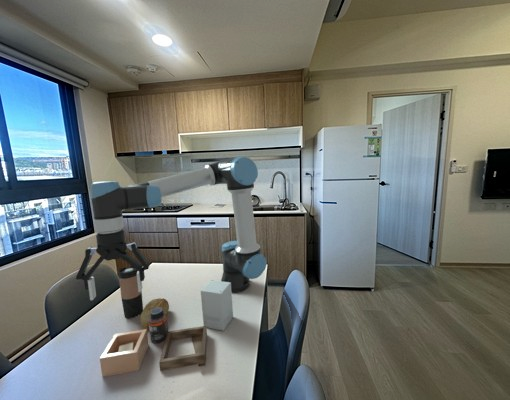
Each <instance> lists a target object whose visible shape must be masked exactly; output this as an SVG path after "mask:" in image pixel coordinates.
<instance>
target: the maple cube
mask: <svg viewBox="0 0 510 400" xmlns="http://www.w3.org/2000/svg"><path fill="white" fill-rule="evenodd" d="M129 350H134V343H133V342H131V343H128V344H125V345H122V346H119V351H118V352H123V351H129Z"/></svg>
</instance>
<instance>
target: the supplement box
mask: <svg viewBox="0 0 510 400" xmlns="http://www.w3.org/2000/svg"><path fill="white" fill-rule="evenodd" d="M232 294H233V293H232V292H231V282H222V281H221V280H213V279H212V280H211V281H209V283H207V284H206V285H205V286H203V288H202V289H200V297H201V310H202V311H201V312H202V321H203V326H206V328H207V329H208V328H209V329H214V330H218V331H225V329H226V328H227V327H228V325H229V324H230V322H231V321H232V320H233V317H234V310H233V296H232Z"/></svg>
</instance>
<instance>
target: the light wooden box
mask: <svg viewBox="0 0 510 400" xmlns="http://www.w3.org/2000/svg"><path fill="white" fill-rule="evenodd" d="M148 338H149V337H148V330H147V329H139V330H138V329H137V330H133V331H132V330H131V331H126V332H120V333H118V332H117V333H114V334H113V336H112V337H111V339H110V340H109V342H108V344H107V346H106V348H105V349H104V351H102V352H103V353H102V354H101V356H100V357H99V363H100V370H101V377H102V378H103V377H109V376H115V375H119V374H120V375H122V374H125V373H131V372H132V373H133V372H136V371H137V372H138V371H140V368H141V366H142V363H143V360H144V359H145V356H146V352H147V350H148V348H149V339H148ZM131 342H133V343H134V350H129V351H123V352H118V351H119V346H122V345H125V344H128V343H131Z"/></svg>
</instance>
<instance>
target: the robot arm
mask: <svg viewBox="0 0 510 400" xmlns="http://www.w3.org/2000/svg"><path fill="white" fill-rule="evenodd" d="M258 171H259V170H258V167H257V164H256V163H255V162H254V161H253V160H252V159H251V158H249V157H247V156H236V157H231V158H224V159H221V160H219V161H217V162H214V163H210V164H205V166H204V167H203V168H199V169H195V170H191V171H186V172H182V173H178V174H174V175H169V176H166V177H162V178H156V179H153V180H149V181H145V182H141V183H136V184H129V185H128V186H120V183H119V181H117V180H116V181H114V180H113V181H111V180H110V181H94V182H92V183H91V184H90V196H91V197H90V198H91V206H92V212H93V213H92V215H93V222H94V230H95V232H96V234H95V237H96V247H93V246H89V247H88V248H86V249H85V250H84V253H85V254H84V255H85V256H84V259H83V260H82V262H81V265H80V267H79V269H78V272H77V273H76V276H75V279H76V280H77V281H78V280H83V283H84V288H85V290H88V293H89V294H88V295H89V300H90V301H93V300H94V299H95V298H96V297H97V291H96V283H95V276H92V275H93V274H94V272H95V271H96V270H97V269H98V268H99V267H100V265H101V264H102V262H104V261H105V260H106V261H111V260H119V259H121V260H122V261H124V262H126V263H127V264H128V265H130V267H131V266H132V267H134V268H135V269H136V270H138V271H137V283H138V292H141V290H143V281H144V280H145V277H146V275H145V271H146V270H149V268H150V266H151V265H150V264H151V263H150V262H149V261H148V260H147V259H146V257H145V256H144V255H143V253H142V252H141V251H140V249H139V248H138V247H139V246H138V243H137V242H136V241H133V242H132V243H126V242H127V241H126V236H125V235H126V234H125V230H124V229H123V228H124V217H123V211H128V210H138V209H140V210H141V209H147V208H148V209H149V208H150V209H152V208H155V207H159V206H161V204H162V198H165V197H168V196H172V195H175V194H179V193H183V192H186V191H189V190H194V189H197V188H201V187H204V186H208V185H209V186H215V185H216V186H217V185H224V184H225V185H226V188H227V191H228V192H229V193H230V194H231V201H232V208H233V210H232V211H233V215H234V225H235V234H236V240H230V241H227V242H225V243H223V244H222V245H221V258H222V271H223V273H222V276H221V279H220V281H222V282H231V292H232V294H233V293H241V292H243V291H245V290H247V289H249V287H250V285H251V280H253V279H254V280H255V279H257V278H259V277H260V276H262V274H263V273H264V271H265V270H266V268H267V257H266V256H264V255H263V254H262V252H261V245H260V244H259V243H257V236H256V234H257V233H256V228H255V227H256V226H255V217H254V207H253V199H252V197H253V196H252V191H253V189H254V188H255V182H256V180H257V179H258V176H259V175H258V174H259V172H258ZM127 249H129V250H130V251H132V253H133V255H134V256H135V257H136V259H137V260H138V261H137V260H136V259H135V258H134V257H132V256H131V255H130V254H129V252H127V251H126V250H127ZM95 253H97V254H98V255H99V257H98V258H97V259H96V262H95V263H94V264H93V265H92V267H91V268H90V269H89V270H88V271H87V269H88V266H89V264H90V262H91V260H92V258H93V255H94V254H95ZM86 271H87V272H86Z"/></svg>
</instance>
